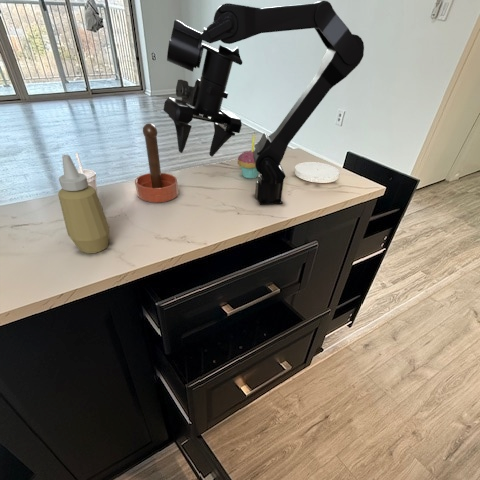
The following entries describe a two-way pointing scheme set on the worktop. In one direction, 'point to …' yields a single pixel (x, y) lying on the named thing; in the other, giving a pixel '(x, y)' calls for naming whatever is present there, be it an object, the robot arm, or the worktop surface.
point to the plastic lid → (316, 172)
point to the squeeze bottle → (82, 210)
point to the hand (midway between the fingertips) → (196, 154)
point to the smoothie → (87, 174)
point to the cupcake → (248, 163)
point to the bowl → (156, 194)
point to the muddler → (153, 155)
